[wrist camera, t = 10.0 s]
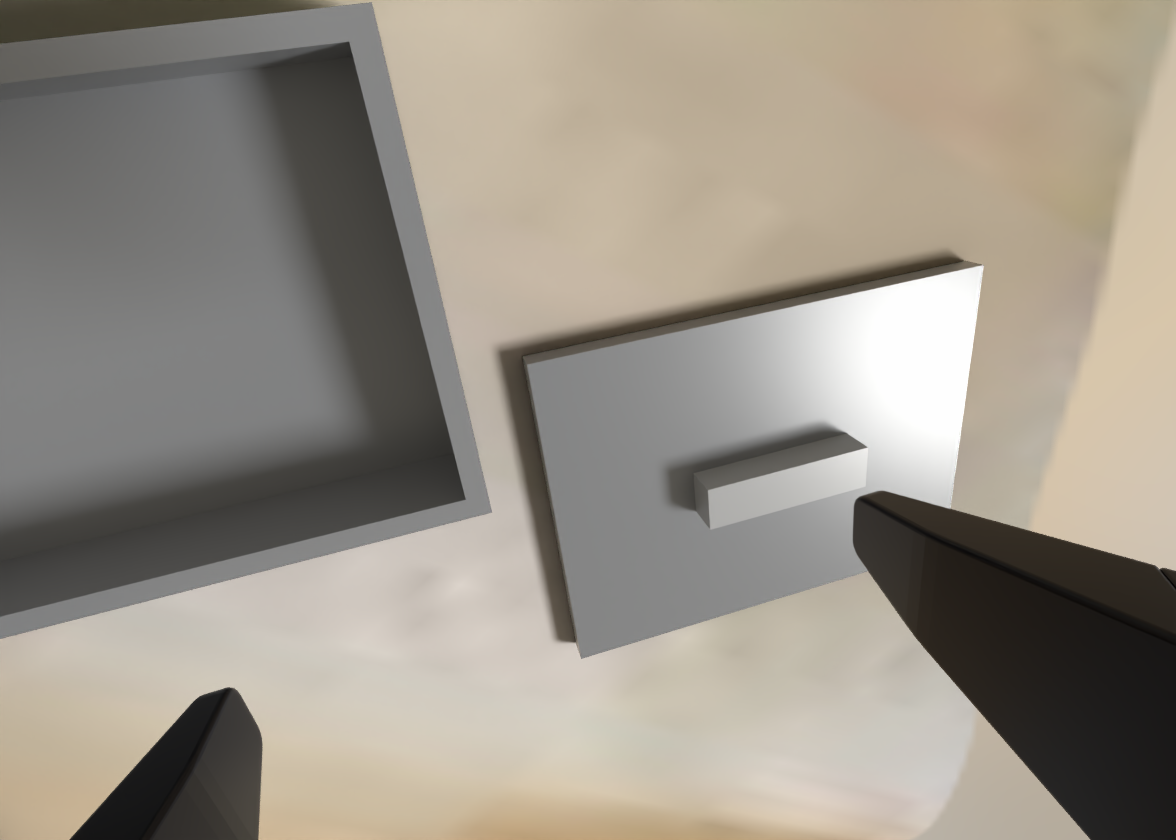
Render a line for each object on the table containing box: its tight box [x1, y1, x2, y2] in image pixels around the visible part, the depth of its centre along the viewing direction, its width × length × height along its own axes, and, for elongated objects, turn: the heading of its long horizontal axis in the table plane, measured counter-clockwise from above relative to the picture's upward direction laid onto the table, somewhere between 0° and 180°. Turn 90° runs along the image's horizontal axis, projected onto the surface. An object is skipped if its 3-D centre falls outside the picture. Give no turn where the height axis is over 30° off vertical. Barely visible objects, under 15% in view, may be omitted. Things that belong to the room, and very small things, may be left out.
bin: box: [0, 2, 492, 639], centre depth 15 cm, size 16×12×4 cm
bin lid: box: [522, 261, 984, 659], centre depth 23 cm, size 16×12×2 cm
